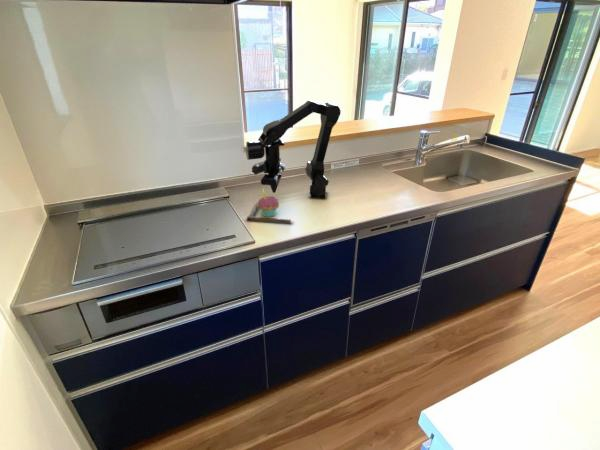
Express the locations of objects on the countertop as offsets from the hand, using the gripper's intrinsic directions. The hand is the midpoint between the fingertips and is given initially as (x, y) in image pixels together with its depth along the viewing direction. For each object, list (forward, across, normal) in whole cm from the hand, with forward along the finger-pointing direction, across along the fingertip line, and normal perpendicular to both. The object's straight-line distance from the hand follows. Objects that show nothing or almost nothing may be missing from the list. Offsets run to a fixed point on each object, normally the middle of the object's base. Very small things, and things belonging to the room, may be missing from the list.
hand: (274, 192), depth 145 cm
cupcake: (+5, +11, 0) cm, 12 cm away
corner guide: (+5, +11, +2) cm, 12 cm away
